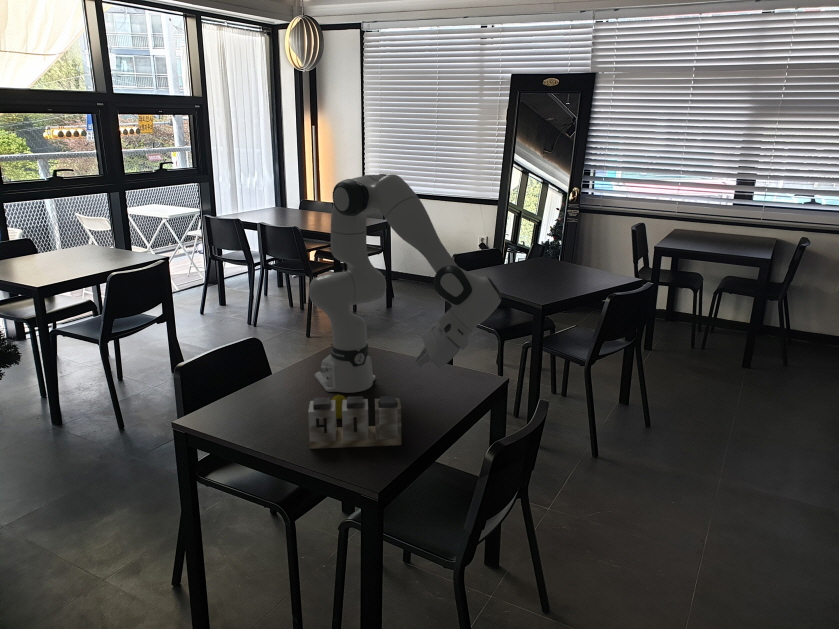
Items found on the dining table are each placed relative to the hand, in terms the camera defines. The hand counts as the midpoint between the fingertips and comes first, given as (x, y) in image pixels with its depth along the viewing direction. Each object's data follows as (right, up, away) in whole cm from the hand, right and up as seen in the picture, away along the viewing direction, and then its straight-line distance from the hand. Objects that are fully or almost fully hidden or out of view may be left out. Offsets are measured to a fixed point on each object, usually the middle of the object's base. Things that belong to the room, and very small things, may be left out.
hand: (417, 363), depth 176 cm
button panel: (-17, -21, +5) cm, 28 cm away
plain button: (-8, -16, +4) cm, 19 cm away
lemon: (-23, -18, +17) cm, 34 cm away
